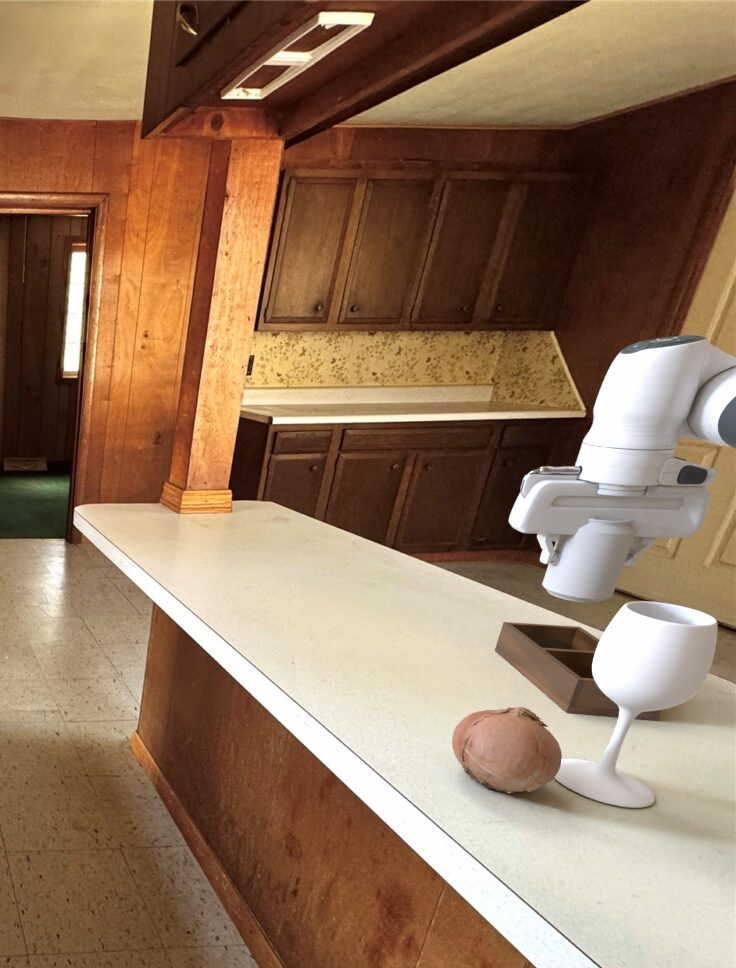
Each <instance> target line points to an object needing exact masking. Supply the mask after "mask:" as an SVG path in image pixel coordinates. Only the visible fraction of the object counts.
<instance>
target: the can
mask: <svg viewBox="0 0 736 968" xmlns="http://www.w3.org/2000/svg"><path fill="white" fill-rule="evenodd" d="M588 520H589V523H588V524H587V525H585V526H583V527H581V528H579V529H578V531H577V533H576V534H575V535H564V534H559V537H558V539H557V541H555V544H554V546H553V547H554V550H556V551H557V552H560V553H562V555H561V558H560V559H559V563H558V564H547V568H546V571H545V574H544V577H543V579H542V580H543V581H542V583H541V585H542V587H543V588H544V589H545V591H546V592H547V593H548V594H549V595H551V596H553V597H556V598H558V599H562V600H566V601H570V602H575V603H583V604H596V603H597V604H598V603H601V602H603V601H605V600H608V599H610V598H613V595H614V592H615V589H616V587H617V584H618V582H619V578H620V576H621V573H622V571H623V568H624V567H623V565H624V563H625V560H626V557H627V555H628V552H629V549H630V547H631V545H632V544H633V542H634V541H633V539H634V536H635V533H636V530H635V529H634V528H633V527H632V526H631V522H633V520H627V521H608V520H598V519H588Z"/></svg>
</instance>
